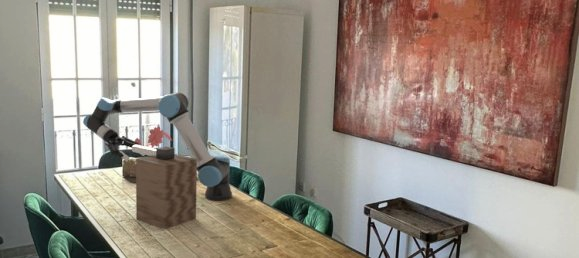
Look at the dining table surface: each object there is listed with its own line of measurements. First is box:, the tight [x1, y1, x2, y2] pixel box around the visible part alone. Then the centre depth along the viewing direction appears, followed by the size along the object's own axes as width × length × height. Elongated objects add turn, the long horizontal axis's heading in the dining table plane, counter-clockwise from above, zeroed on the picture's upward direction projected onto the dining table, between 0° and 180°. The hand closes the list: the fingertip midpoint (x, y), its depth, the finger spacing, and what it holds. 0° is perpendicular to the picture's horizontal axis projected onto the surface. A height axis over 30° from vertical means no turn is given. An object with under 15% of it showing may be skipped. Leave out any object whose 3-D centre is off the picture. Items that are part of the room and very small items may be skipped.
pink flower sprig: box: [134, 126, 173, 149], centre depth 299 cm, size 15×26×35 cm, turn 147°
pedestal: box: [135, 153, 198, 230], centre depth 239 cm, size 20×20×30 cm
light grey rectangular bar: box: [131, 145, 175, 160], centre depth 243 cm, size 6×26×5 cm, turn 55°
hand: (136, 156), depth 264 cm, fingers open, 13 cm apart
